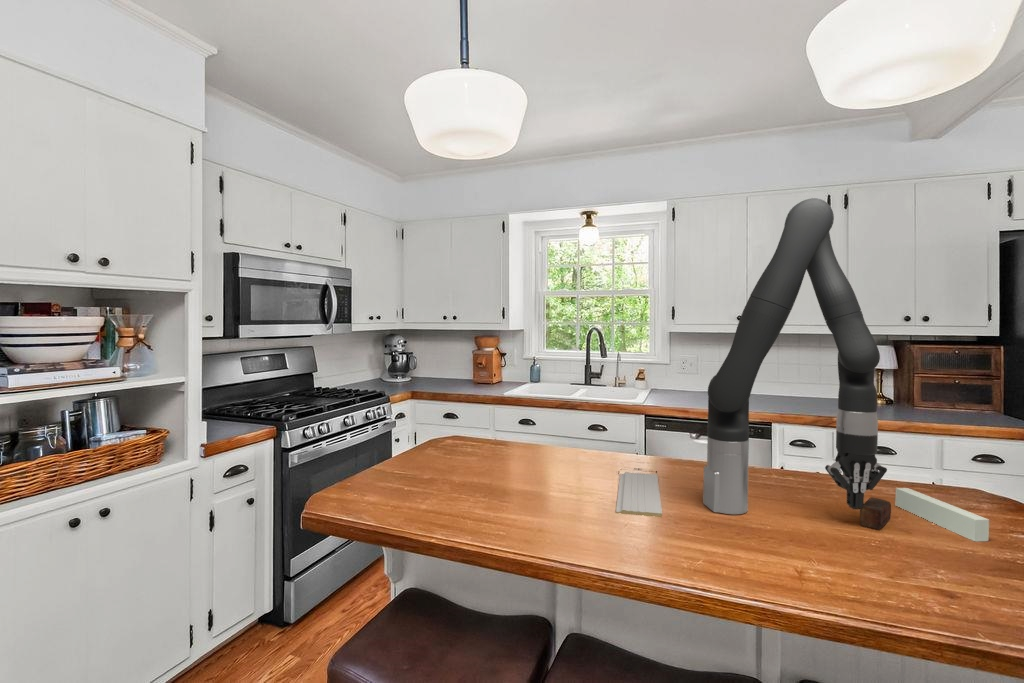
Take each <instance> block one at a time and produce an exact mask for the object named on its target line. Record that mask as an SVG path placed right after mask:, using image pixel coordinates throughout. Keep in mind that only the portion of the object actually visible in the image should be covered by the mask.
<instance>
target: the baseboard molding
mask: <svg viewBox="0 0 1024 683" xmlns="http://www.w3.org/2000/svg"><path fill="white" fill-rule="evenodd" d="M622 470H626V471H625V472H624V473H620V470H618V471H617V475H618V474H619V483H618V491H617V500H616V507H615V514H619V513H621V514H620V515H631V516H632V515H633V516H642V515H644V516H645V517H653V516H655V518H662V517H663V510H662V501H661V495H660V487H659V480H658V478H659V477H658V474H656V473H658V471H655V474H654V471H653V470H652V471H650V472H653V473H646V472H645V473H641V472H640V471H641V468H636V467H635V468H633V470H634V471H639V472H629V471H627V469H625V468H622Z"/></svg>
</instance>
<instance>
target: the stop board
mask: <svg viewBox="0 0 1024 683" xmlns="http://www.w3.org/2000/svg"><path fill="white" fill-rule="evenodd" d="M894 497H895V501H894V503H895V504H894V506H895V507H896V506H898V507H900V508H902V509H901V510H903V509H904V510H903V511H905V510H907V511H909V512H911V513H910V514H912V513H913V514H912V515H914V514H915V515H914V516H916V515H917V517H918V516H919V517H918V518H921V517H922V518H921V519H923V518H924V519H923V520H925V519H926V520H925V521H927V520H928V522H930V523H932V522H933V524H934V523H935V524H934V525H936V524H937V525H936V526H939V527H941V528H944V529H945V528H946V529H945V530H948V531H950V532H953V533H954V534H957V535H960V536H961V537H963V538H966V539H968V540H969V541H973V542H989V541H990V540H989V535H990V534H989V532H990V519H989V518H985V517H983V516H981V515H978V514H976V513H973V512H972V511H971V512H970V511H968V510H966V509H963V508H960V507H958V506H956V505H952V504H950V503H948V502H945V501H942V500H941V499H940V500H939V499H937V498H934V497H932V496H929V495H927V494H924V493H922V492H919V491H916V490H915V489H911V488H908V487H895V496H894ZM898 507H897V508H898ZM900 508H899V509H900ZM907 511H906V512H907ZM909 512H908V513H909Z"/></svg>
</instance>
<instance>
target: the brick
mask: <svg viewBox="0 0 1024 683" xmlns="http://www.w3.org/2000/svg"><path fill="white" fill-rule="evenodd" d="M891 512H892V504H891V502H889V501H887V500H885V499H882V498H878V497H873V496H871V497H869V498H868V499H867V500H866V501H864V504H863V507H862V509H859V525H860V527H863V528H866V527H867V529H870V528H871V529H872V530H874V529H875V530H874V531H880V530H882V528H884V527H885V525H886V524H887V523H888V522H889V521H890V519H891Z"/></svg>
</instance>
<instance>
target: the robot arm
mask: <svg viewBox="0 0 1024 683" xmlns="http://www.w3.org/2000/svg"><path fill="white" fill-rule="evenodd" d="M834 215H835V214H834V211H833V209H832V206H831V205H830V204H829V203H828V202H827V201H825V200H823V199H821V198H815V197H814V198H813V197H811V198H808V199H803V200H802V201H800V202H797V204H795V205H794V206H792V208H791V209H790V210H789V211H788V213H787V215H786V218H785V221H784V226H783V229H782V233H781V235H780V238H779V241H778V243H777V244H778V245H777V247H776V249H775V252H774V253H773V256H772V257H771V259H770V261H769V262H768V264H767V266H766V268H765V269H764V271H763V272H762V273H761V275H760V276H759V279H758V281H757V282H756V284H755V286H754V288H753V289H752V291H751V293H750V295H749V297H748V300H747V302H746V304H745V306H744V308H743V310H742V313H741V315H740V318H739V321H738V324H737V327H736V330H735V333H734V337H733V340H732V343H731V347H730V349H729V352H728V353H727V355H726V357H725V359H724V361H723V363H722V364H721V365H720V368H719V369H718V371H717V372H716V373H715V375H714V376H712V377H711V379H710V381H709V383H708V386H707V396H708V398H707V399H708V400H707V404H708V405H707V434H706V436H707V443H706V444H707V445H706V446H707V447H706V448H707V449H706V450H707V452H706V454H707V456H706V458H707V459H706V465H704V466H703V486H702V487H703V490H702V492H703V494H702V495H703V497H702V502H703V503H702V504H703V505H705V506H706V507H707V508H708V509H709V510H711V511H712V512H713V513H721V514H727V515H743V514H746V513H747V512H748V508H749V458H750V457H749V456H750V455H749V453H750V452H749V451H750V450H749V449H750V448H749V447H750V444H749V443H750V439H749V438H750V416H749V414H750V396H751V394H752V389H753V387H754V383H755V381H756V378H757V377H758V373H759V370H760V368H761V365H762V363H763V361H764V360H765V358H766V356H767V355H768V353H769V352H770V351H771V349H772V347H773V345H774V344H775V342H776V340H777V339H778V337H779V336H780V333H781V332H782V329H783V328H784V326H785V324H786V322H787V320H788V318H789V316H790V313H791V312H792V310H793V307H794V305H795V303H796V301H797V298H798V295H799V293H800V290H801V287H802V285H803V281H804V278H805V275H806V272H807V273H808V276H809V279H810V281H811V285H812V289H813V291H814V293H815V297H816V299H817V302H818V305H819V306H818V307H819V308H820V311H821V313H822V316H823V319H824V321H825V324H826V326H827V328H828V330H829V332H831V334H832V336H833V339H834V342H835V345H836V348H837V372H838V383H839V387H838V395H837V396H838V398H837V399H838V400H837V414H836V422H835V423H836V430H835V431H836V432H835V436H836V437H835V448H836V451H837V455H836V457H834V458H835V462H834V463H832V464H831V465H829V464H827V465H826V466H825V467H824V469H825V471H827V473H828V475H829V476H830V477H831V478H832V480H833V481H834V483H835V484H836V485H837V487H839V488H842V489H844V490H845V491H846V505H848V507H849V508H850V509H852V510H860V509H862V507H863V504H864V503H865V501H864V500H865V499H864V498H865V493H866V492H867V491H869V490H870V491H872V490H874V488H875V487H876V486H877V484H878V483H879V482H880V481H881V479H882V478H883V477H884V476H885V474H886V473H887V471H888V469H887V467H884V466H882V465H880V464H879V463H878V459H877V457H876V455H877V453H878V442H879V441H878V439H879V438H878V436H879V435H878V433H879V430H878V429H879V421H878V412H877V411H878V410H877V408H878V393H877V389H876V386H875V369H876V367H878V366H879V363H880V361H881V354H880V351H879V348H878V345H877V343H876V341H875V339H874V336H873V335H872V332H871V331H870V329H869V327H868V325H867V323H866V321H865V318H864V314H863V312H862V309H861V306H860V304H859V301H858V299H857V296H856V293H855V291H854V289H853V287H852V285H851V284H850V283H851V282H850V281H849V279H848V278H847V276H846V275H845V273H844V271H843V269H842V268H841V266H840V264H839V262H838V259H837V256H836V255H835V251H834V249H833V244H832V240H831V234H830V231H831V229H832V227H833V224H834V219H835V218H834V217H835V216H834Z"/></svg>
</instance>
